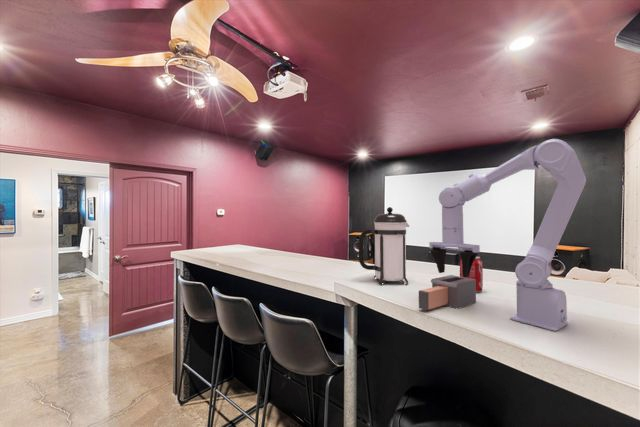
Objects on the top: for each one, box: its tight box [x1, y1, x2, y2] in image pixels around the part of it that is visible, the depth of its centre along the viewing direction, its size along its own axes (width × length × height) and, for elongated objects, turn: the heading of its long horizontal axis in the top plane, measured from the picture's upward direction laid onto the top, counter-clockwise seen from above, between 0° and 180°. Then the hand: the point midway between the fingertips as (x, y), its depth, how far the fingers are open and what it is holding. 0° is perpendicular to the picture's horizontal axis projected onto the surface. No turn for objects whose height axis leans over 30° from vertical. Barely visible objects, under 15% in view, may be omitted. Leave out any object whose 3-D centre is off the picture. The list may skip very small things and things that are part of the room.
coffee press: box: [358, 207, 410, 285], centre depth 113 cm, size 17×16×30 cm
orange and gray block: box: [418, 285, 449, 311], centre depth 81 cm, size 14×2×5 cm, turn 123°
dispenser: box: [430, 274, 477, 309], centre depth 86 cm, size 11×8×7 cm
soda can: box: [459, 255, 484, 294], centre depth 99 cm, size 7×7×12 cm
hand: (453, 274), depth 84 cm, fingers open, 7 cm apart
